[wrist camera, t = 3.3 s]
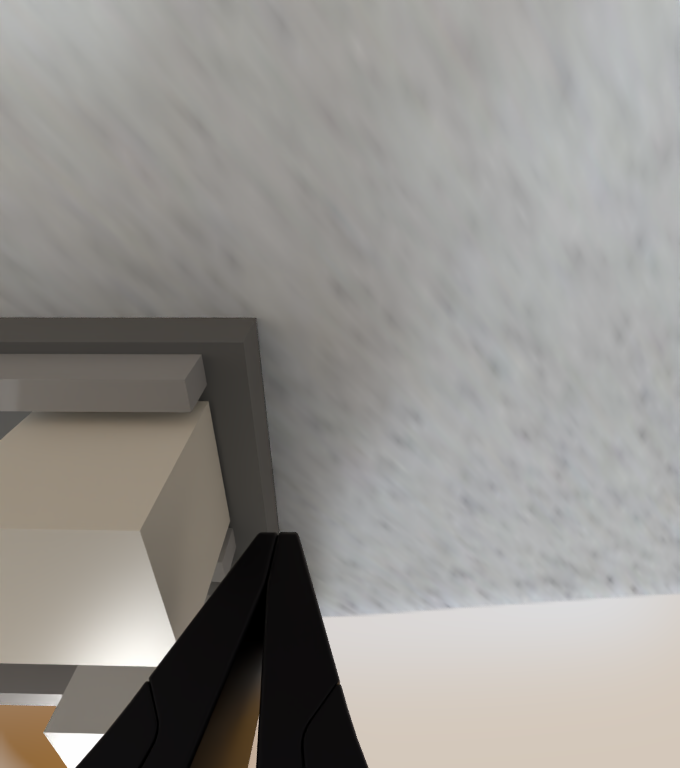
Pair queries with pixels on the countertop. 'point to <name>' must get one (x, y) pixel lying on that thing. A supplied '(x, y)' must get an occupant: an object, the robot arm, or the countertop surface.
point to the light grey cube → (92, 707)
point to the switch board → (144, 394)
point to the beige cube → (106, 534)
